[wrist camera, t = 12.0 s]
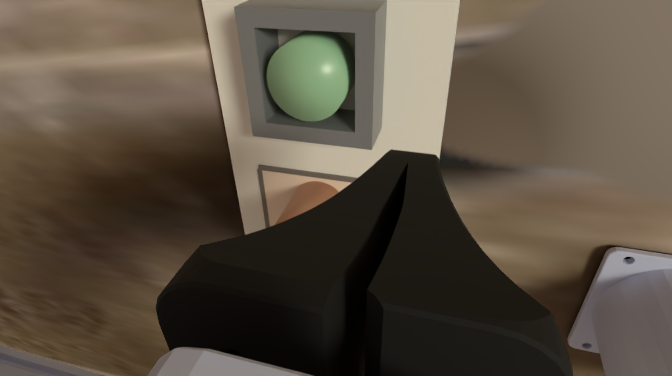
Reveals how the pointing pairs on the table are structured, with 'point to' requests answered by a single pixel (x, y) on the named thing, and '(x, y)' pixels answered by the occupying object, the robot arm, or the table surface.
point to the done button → (311, 75)
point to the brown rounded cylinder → (307, 199)
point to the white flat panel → (335, 161)
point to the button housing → (315, 15)
